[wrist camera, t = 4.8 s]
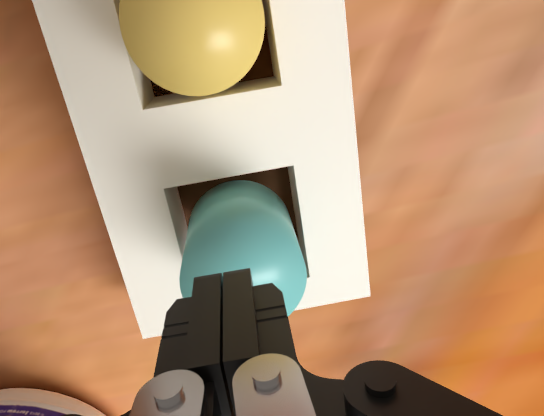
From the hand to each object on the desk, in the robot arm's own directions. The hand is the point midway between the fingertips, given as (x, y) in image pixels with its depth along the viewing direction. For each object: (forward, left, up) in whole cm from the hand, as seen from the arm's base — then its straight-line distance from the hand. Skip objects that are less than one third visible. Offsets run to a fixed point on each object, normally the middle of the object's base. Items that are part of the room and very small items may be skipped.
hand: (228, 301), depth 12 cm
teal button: (0, +1, -7) cm, 7 cm away
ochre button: (0, -7, -8) cm, 11 cm away
